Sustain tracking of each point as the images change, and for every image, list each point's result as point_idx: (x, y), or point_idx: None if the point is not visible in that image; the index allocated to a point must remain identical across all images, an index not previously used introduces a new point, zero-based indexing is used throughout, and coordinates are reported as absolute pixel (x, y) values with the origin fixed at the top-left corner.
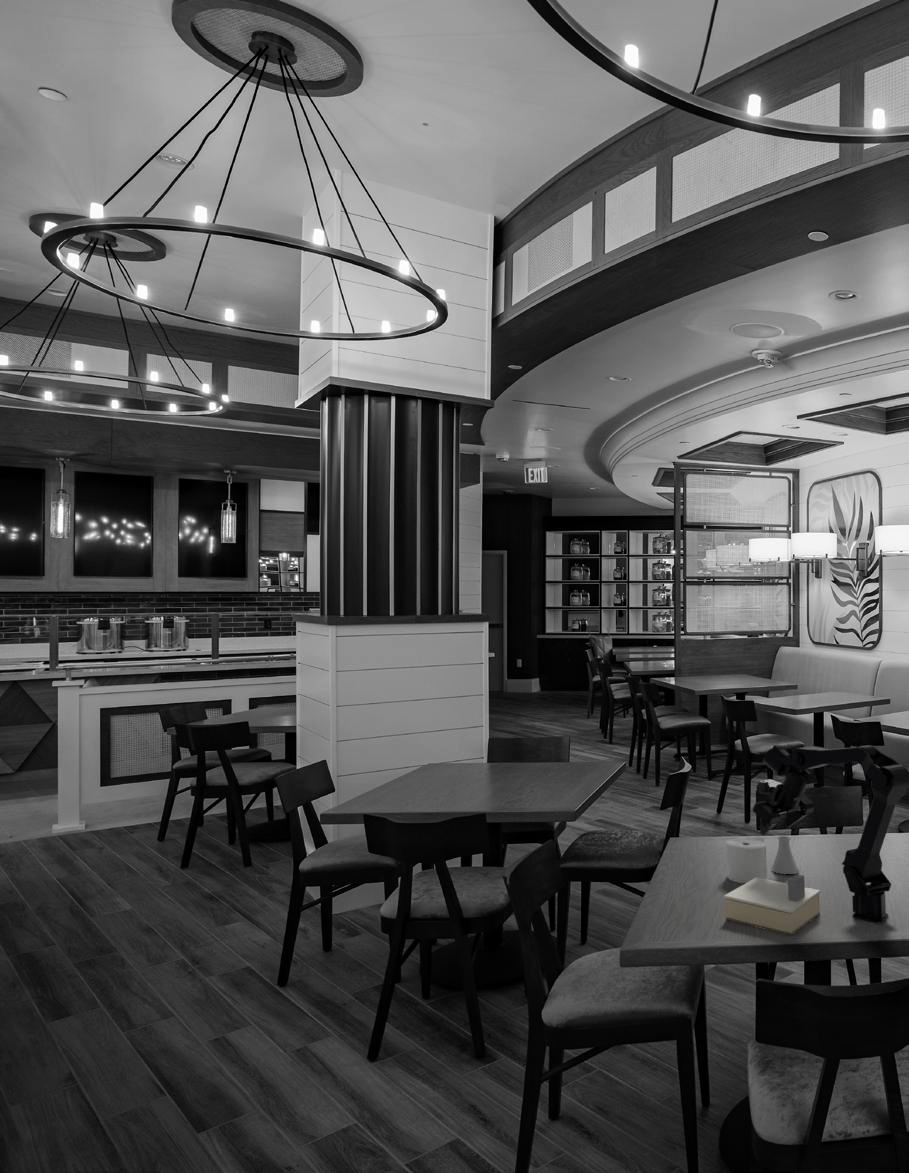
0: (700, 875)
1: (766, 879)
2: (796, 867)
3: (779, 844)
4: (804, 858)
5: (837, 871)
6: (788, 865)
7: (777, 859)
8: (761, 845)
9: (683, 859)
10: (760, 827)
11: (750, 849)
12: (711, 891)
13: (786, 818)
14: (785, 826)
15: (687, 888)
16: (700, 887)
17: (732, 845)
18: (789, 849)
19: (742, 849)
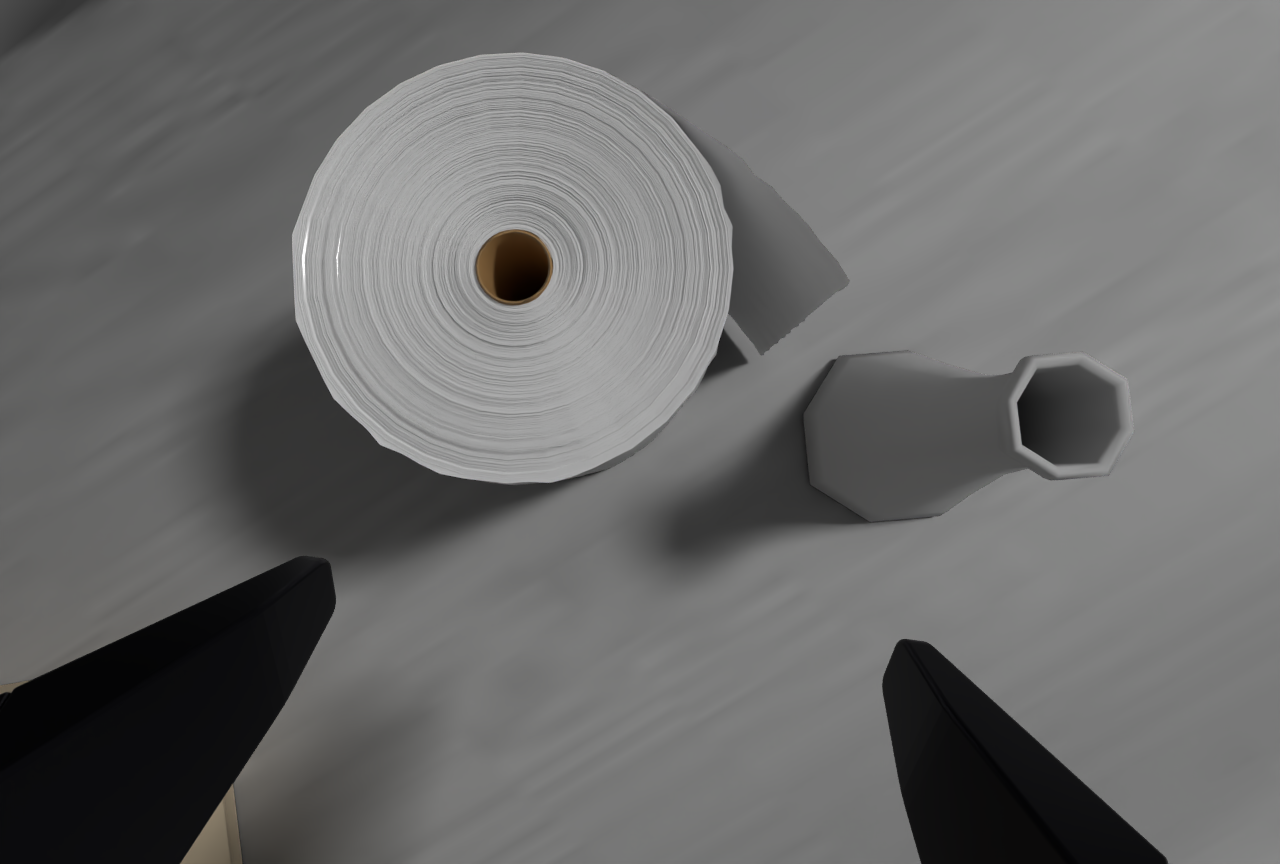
0: None
1: None
2: (939, 508)
3: (981, 386)
4: (1266, 353)
5: (1172, 668)
6: (876, 490)
7: (875, 400)
8: (566, 434)
9: None
10: (163, 622)
11: (365, 422)
12: (159, 346)
13: (1014, 839)
14: (904, 708)
15: (98, 208)
16: (177, 251)
17: (323, 211)
18: (997, 473)
19: (318, 352)
